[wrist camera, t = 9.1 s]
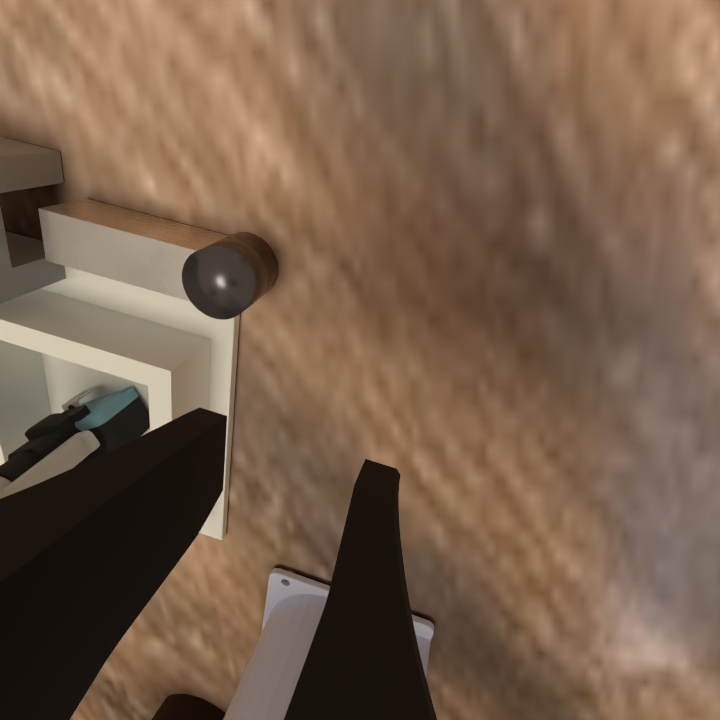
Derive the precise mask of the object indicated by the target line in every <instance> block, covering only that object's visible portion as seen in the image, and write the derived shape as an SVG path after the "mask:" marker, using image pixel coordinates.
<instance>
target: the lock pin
mask: <svg viewBox="0 0 720 720" xmlns="http://www.w3.org/2000/svg"><path fill="white" fill-rule="evenodd" d="M38 210H39V217H40V224H41V230H42V237H43V244H44V250H45V257H46V261H49V262H52V263H56V264H59V265H63V266H66V267H70V268H74V269H77V270H81V271H84V272H88V273H91V274H95V275H98V276H102V277H105V278H109V279H113V280H116V281H120V282H123V283H127V284H130V285H134V286H137V287H141V288H144V289H148V290H151V291H155V292H159V293H162V294H166V295H169V296H173V297H176V298H180V299H183V300H187V301H190V302H191V303H192V304H193V305H194V306H195V307H196V308H197V309H198V310H199V311H201V312H202V313H203V314H205V315H207V316H209V317H212V318H215V319H221V320H225V319H231V318H234V317H236V316H238V315H239V314H240V313H241V312H243V311H244V310H245V309H247V308H248V307H249V306H250V305H252V304H253V303H254V302H255V301H257V300H258V299H259V298H261V297H262V296H263V295H264V294H266V293H267V292H268V291H269V290H270V289H271V288H272V287H273V286H274V284H275V282H276V280H277V276H278V264H277V260H276V257H275V255H274V253H273V251H272V249H271V248H270V247H269V245H268V244H267V243H266V242H265V241H263V240H262V239H261V238H259V237H258V236H255V235H253V234H250V233H243V232H241V233H235V234H232V235H230V236H228V235H225V234H221V233H217V232H213V231H209V230H205V229H202V228H198V227H194V226H190V225H186V224H182V223H178V222H175V221H171V220H167V219H163V218H159V217H155V216H152V215H148V214H144V213H140V212H136V211H132V210H129V209H125V208H121V207H117V206H113V205H109V204H106V203H102V202H98V201H94V200H90V199H82V200H77V201H72V202H67V203H62V204H58V205H53V206H48V207H43V208H38Z"/></svg>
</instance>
